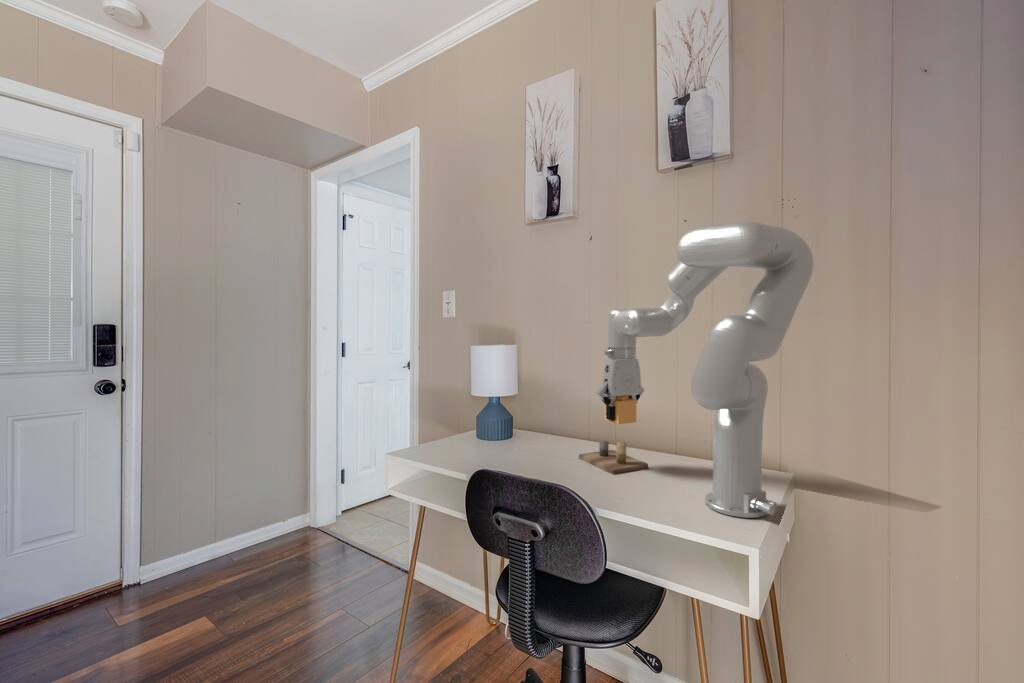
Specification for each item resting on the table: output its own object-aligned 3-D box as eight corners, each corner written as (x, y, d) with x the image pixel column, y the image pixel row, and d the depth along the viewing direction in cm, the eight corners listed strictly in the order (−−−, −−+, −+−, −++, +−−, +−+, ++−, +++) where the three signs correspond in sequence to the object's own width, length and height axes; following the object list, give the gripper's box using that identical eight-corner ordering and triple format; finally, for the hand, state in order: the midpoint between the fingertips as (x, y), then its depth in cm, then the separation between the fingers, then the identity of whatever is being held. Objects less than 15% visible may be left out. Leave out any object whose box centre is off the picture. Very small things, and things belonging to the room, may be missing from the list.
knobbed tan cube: (636, 422, 128) (636, 396, 127) (618, 424, 125) (618, 397, 125) (622, 418, 133) (622, 392, 133) (604, 419, 130) (605, 394, 130)
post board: (648, 468, 128) (648, 443, 128) (612, 474, 123) (612, 449, 123) (612, 453, 143) (612, 431, 142) (579, 458, 137) (579, 435, 137)
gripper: (604, 356, 121) (603, 424, 122) (655, 354, 128) (654, 418, 129) (587, 354, 128) (586, 419, 129) (637, 352, 135) (636, 413, 136)
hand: (620, 418), depth 129 cm, fingers closed on knobbed tan cube, 6 cm apart
